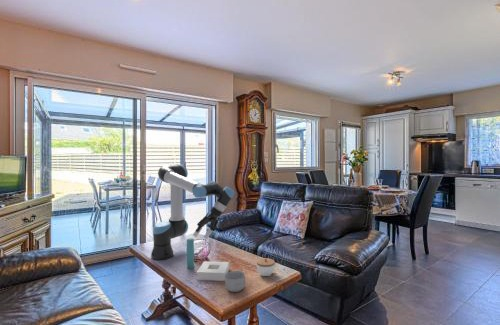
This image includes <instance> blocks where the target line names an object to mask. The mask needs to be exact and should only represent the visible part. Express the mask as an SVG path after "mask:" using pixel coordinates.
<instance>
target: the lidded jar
mask: <svg viewBox="0 0 500 325" xmlns="http://www.w3.org/2000/svg"><path fill="white" fill-rule="evenodd" d="M275 264H276V262H275V260H274V259H272V258H270V257H269V258H268V257H267V258H266V257H264V258H259V259H257V260H256V268H257V269H256V270H257V271H258V274H260V276H262V277H264V276H268V277H271V275H272V274H274V271H275Z"/></svg>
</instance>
